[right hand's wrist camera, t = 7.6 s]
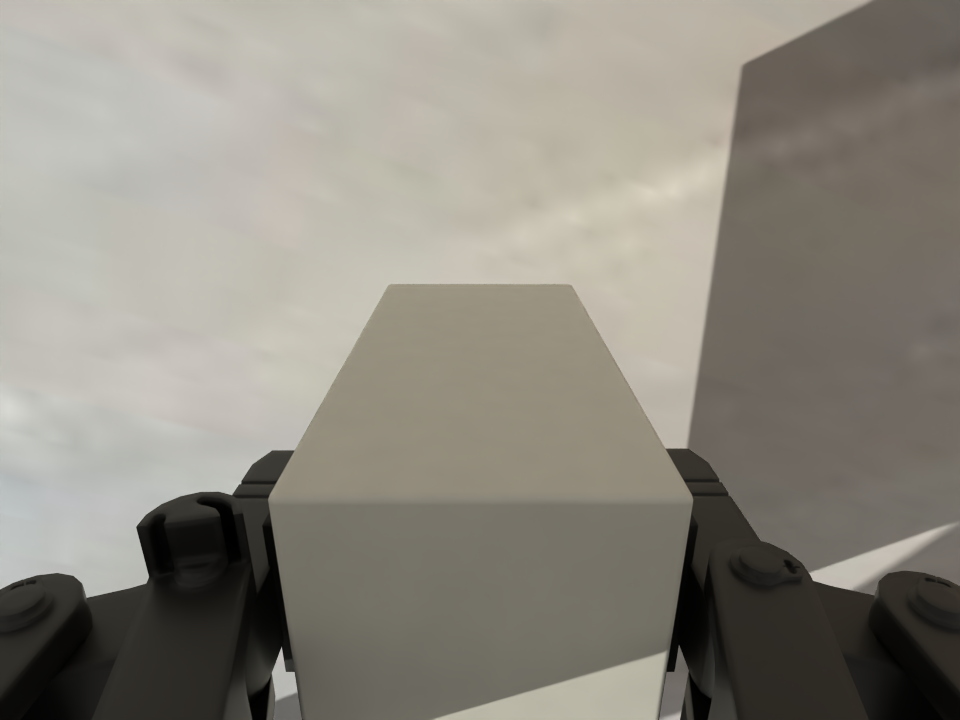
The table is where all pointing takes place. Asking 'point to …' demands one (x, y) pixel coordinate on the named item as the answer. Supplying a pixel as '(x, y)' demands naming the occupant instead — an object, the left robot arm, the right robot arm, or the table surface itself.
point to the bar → (480, 520)
